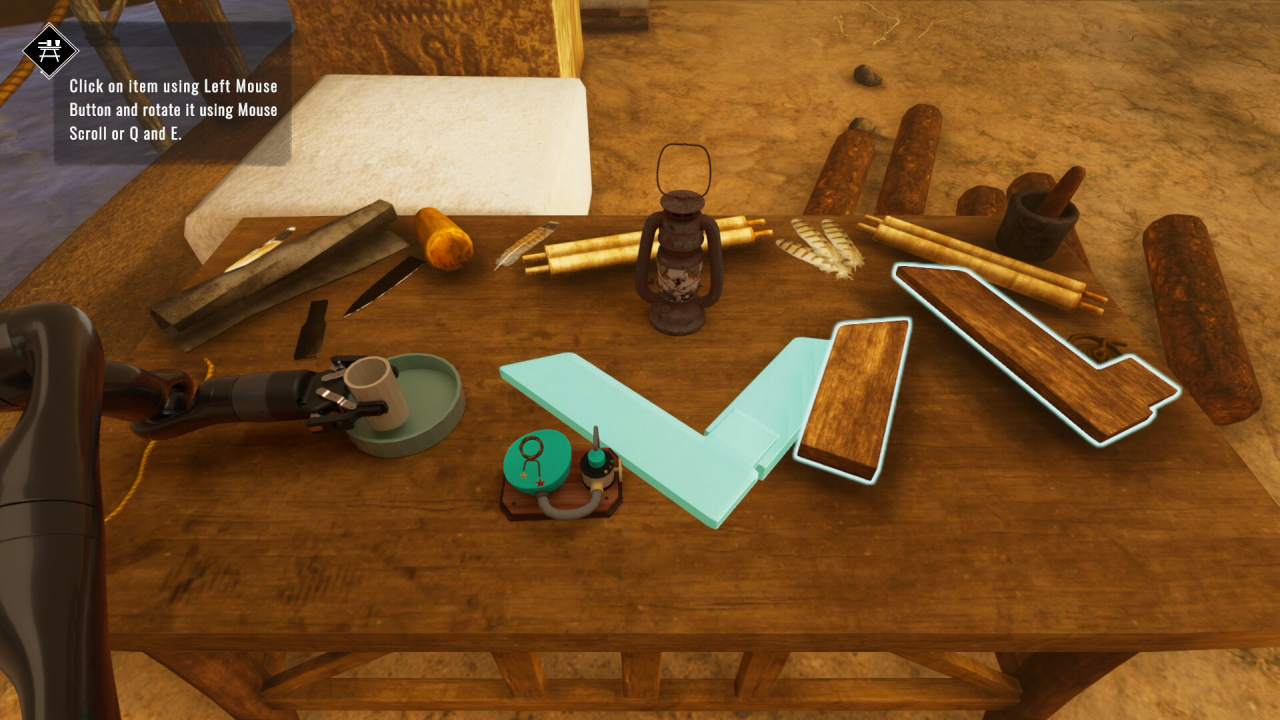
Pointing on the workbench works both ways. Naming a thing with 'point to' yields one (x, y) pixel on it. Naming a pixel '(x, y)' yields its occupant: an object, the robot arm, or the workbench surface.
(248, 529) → the workbench surface
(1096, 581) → the workbench surface
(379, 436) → the bowl
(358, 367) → the cup
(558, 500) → the contraption on wooden base
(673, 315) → the lantern
